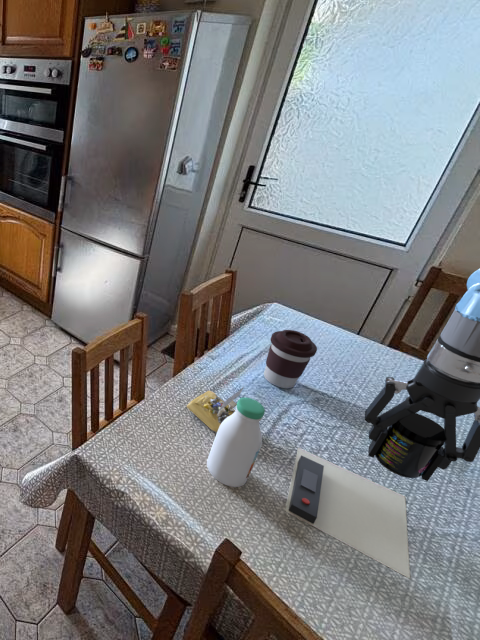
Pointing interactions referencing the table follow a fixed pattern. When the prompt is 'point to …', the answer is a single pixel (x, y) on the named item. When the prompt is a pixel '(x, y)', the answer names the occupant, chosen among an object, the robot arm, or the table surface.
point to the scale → (360, 514)
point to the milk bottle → (237, 444)
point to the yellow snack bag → (213, 408)
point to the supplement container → (411, 445)
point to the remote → (306, 489)
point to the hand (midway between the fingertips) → (396, 463)
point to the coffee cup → (288, 357)
